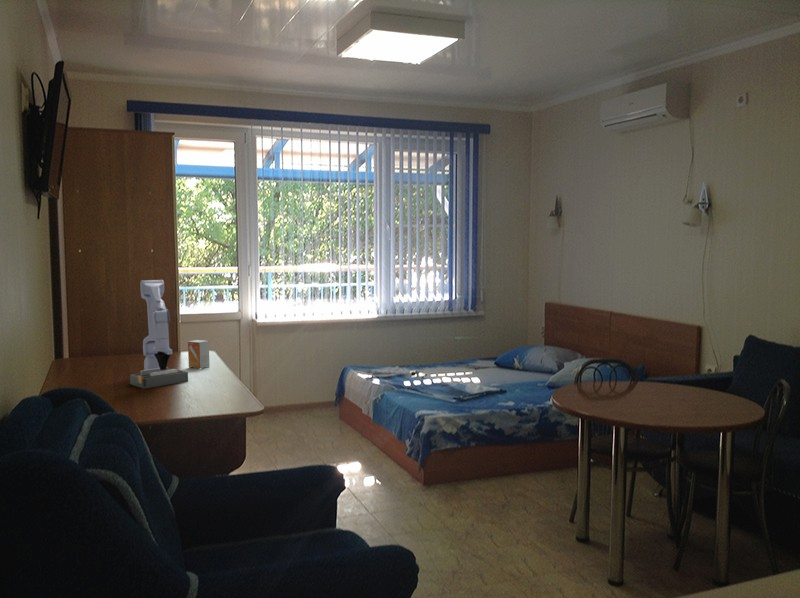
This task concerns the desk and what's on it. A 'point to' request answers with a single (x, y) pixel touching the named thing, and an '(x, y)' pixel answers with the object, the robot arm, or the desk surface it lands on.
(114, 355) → the desk surface
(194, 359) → the small box
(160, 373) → the panel
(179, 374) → the rack
